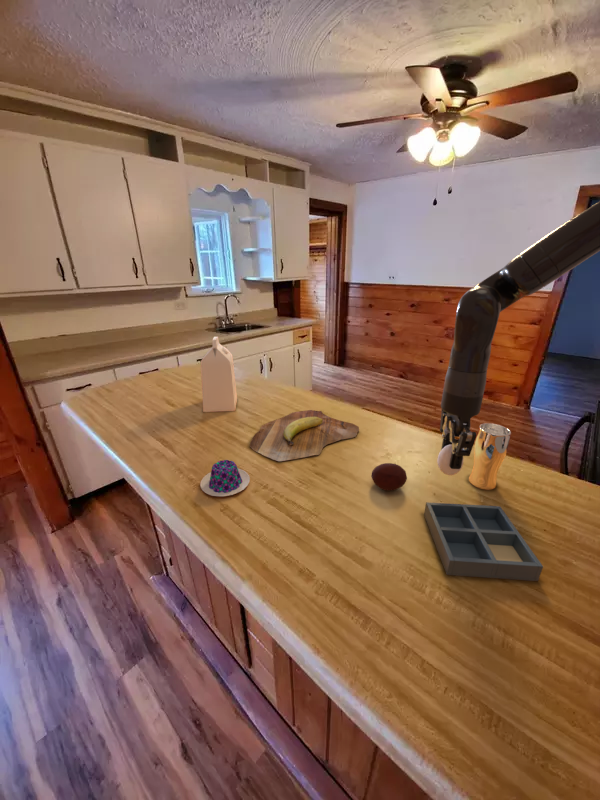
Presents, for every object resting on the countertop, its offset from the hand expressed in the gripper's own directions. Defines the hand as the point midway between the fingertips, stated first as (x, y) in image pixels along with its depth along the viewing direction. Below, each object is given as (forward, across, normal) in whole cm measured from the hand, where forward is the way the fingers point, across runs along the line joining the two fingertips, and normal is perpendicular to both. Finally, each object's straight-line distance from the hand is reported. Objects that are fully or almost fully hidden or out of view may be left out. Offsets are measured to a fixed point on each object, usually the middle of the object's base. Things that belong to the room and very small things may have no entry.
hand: (450, 460), depth 75 cm
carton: (+10, -14, -2) cm, 17 cm away
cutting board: (+10, +29, +35) cm, 47 cm away
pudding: (+10, +1, +52) cm, 53 cm away
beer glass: (+11, +7, -12) cm, 17 cm away
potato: (+10, +3, +12) cm, 16 cm away
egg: (+4, 0, 0) cm, 4 cm away
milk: (+9, +50, +68) cm, 85 cm away
